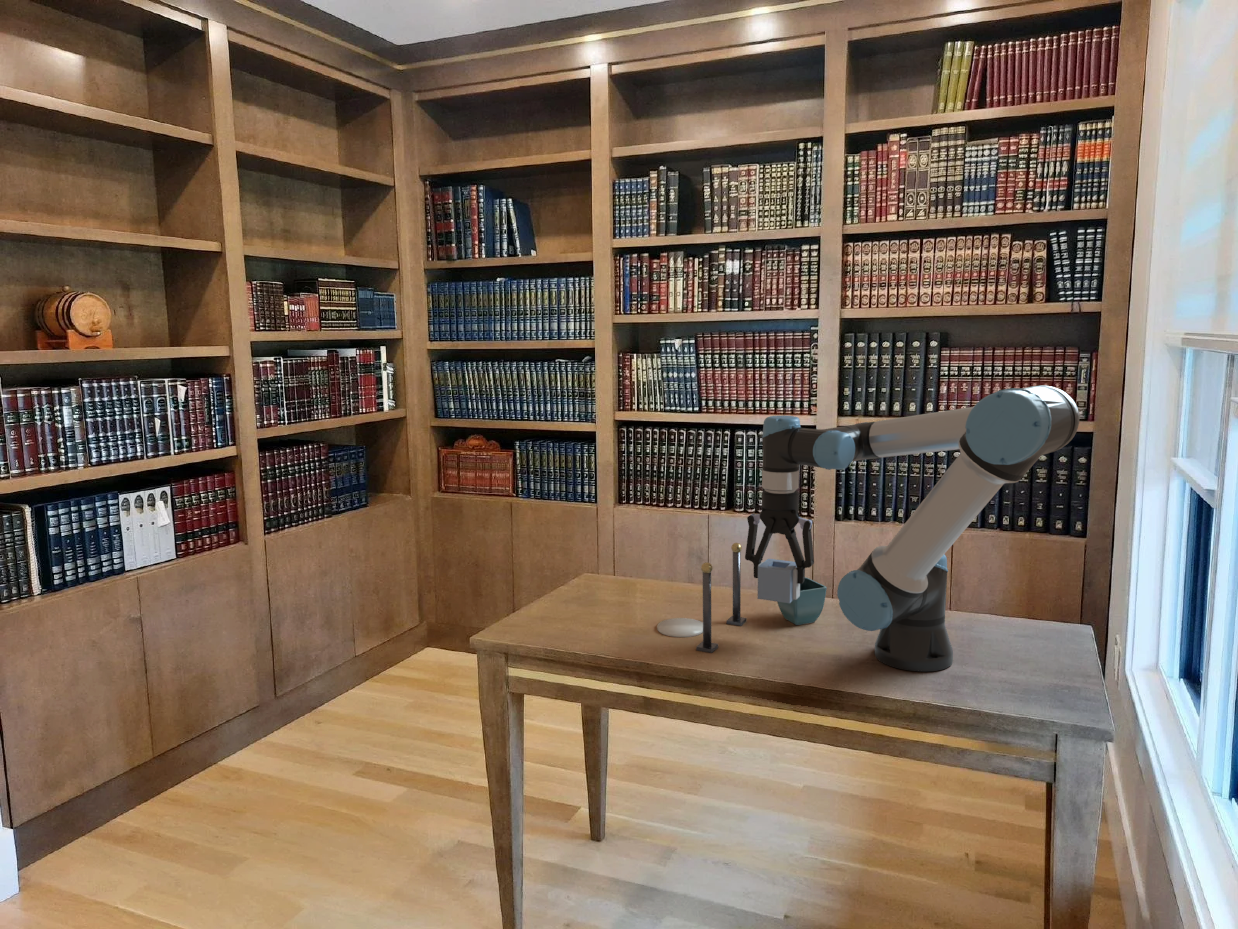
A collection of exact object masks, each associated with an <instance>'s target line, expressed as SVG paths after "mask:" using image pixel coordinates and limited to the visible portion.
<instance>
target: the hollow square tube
mask: <svg viewBox="0 0 1238 929" xmlns="http://www.w3.org/2000/svg"><path fill="white" fill-rule="evenodd" d="M762 562H763V563H762V564H761V565H760V566H758V578H757V599H758V600H763V601H770V602H784V603H791V602H792V601H793V600H794V599H793V569H794V568H796V567H797V566H796V563H795V561H793V560H792V561H791V560H783V559H775V558H767V559H766V560H764V561H762Z"/></svg>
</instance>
